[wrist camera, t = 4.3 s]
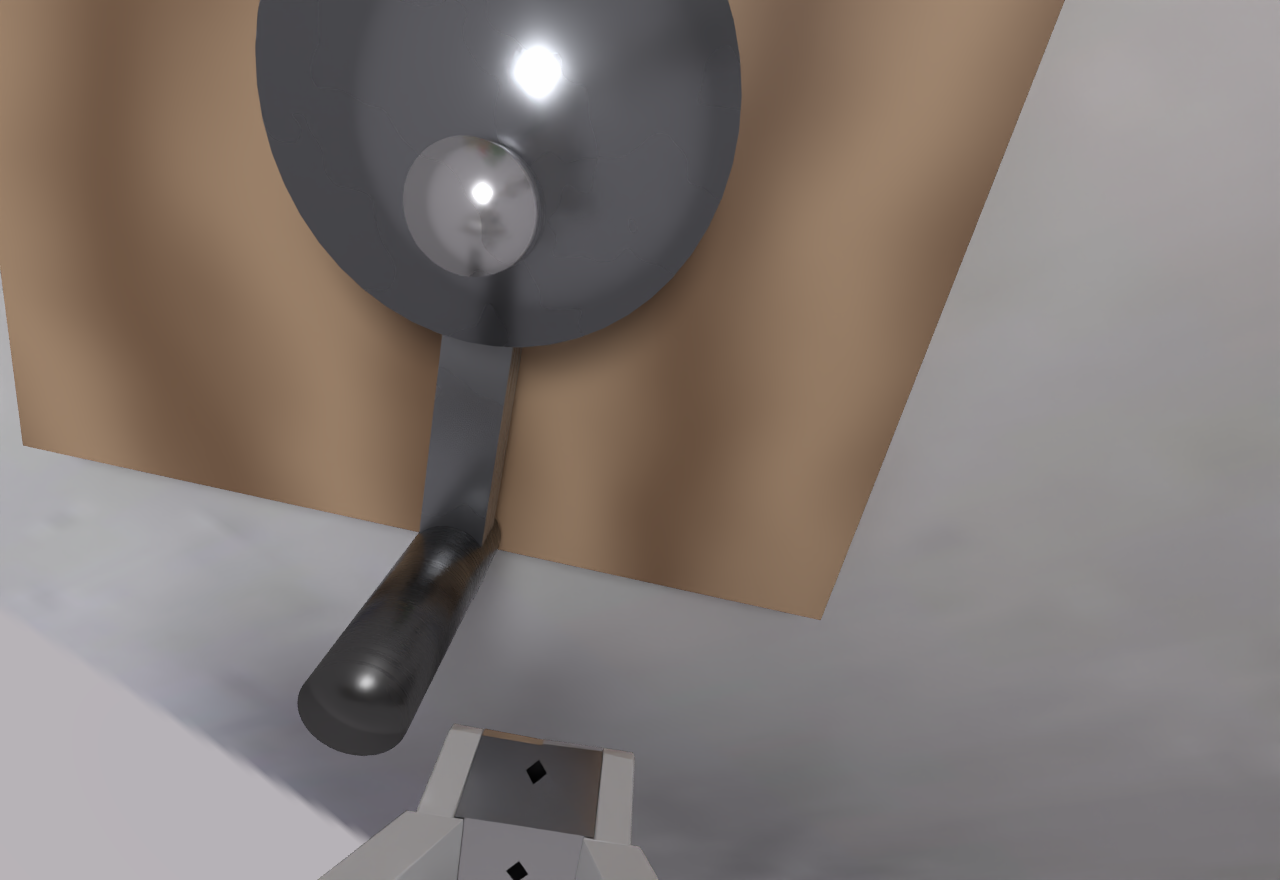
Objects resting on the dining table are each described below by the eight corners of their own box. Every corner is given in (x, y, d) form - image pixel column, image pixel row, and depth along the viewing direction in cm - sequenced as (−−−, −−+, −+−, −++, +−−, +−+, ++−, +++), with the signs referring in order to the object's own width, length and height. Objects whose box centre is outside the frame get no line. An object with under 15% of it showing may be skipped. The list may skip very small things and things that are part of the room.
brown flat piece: (1201, -473, 12) (1441, -777, 8) (806, 582, 20) (837, 666, 17) (-28, -834, 11) (-379, -1356, 7) (84, 422, 20) (-54, 473, 16)
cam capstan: (333, -185, 12) (-17, -592, 6) (782, -69, 13) (894, -337, 6) (302, 528, 18) (104, 704, 12) (615, 596, 18) (587, 802, 12)
